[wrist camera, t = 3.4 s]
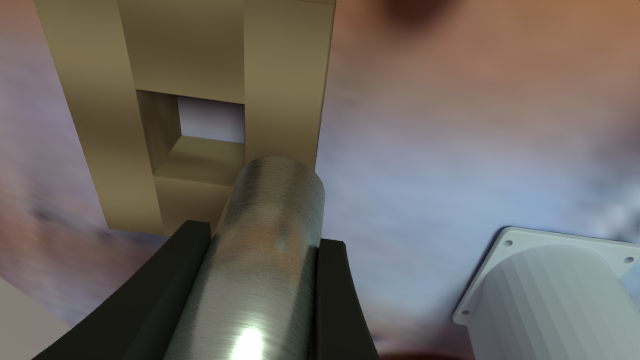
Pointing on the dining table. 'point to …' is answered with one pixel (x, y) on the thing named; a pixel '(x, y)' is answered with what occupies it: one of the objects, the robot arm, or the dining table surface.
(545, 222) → the dining table surface
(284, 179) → the long pin
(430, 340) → the dining table surface
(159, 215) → the hole block
